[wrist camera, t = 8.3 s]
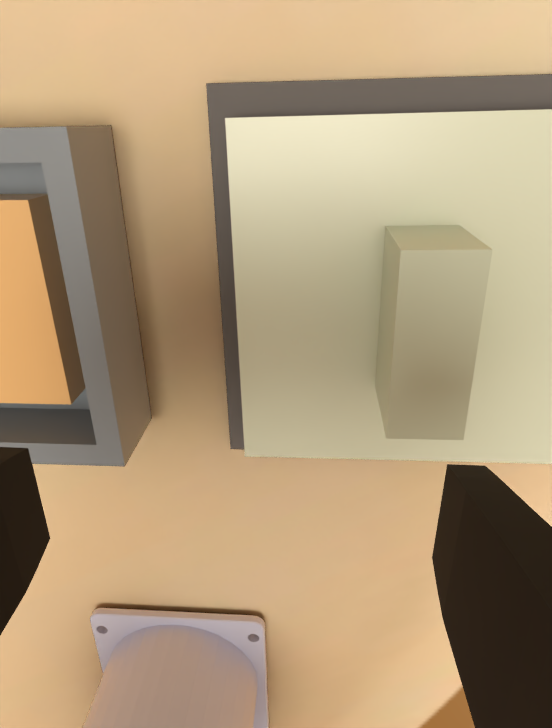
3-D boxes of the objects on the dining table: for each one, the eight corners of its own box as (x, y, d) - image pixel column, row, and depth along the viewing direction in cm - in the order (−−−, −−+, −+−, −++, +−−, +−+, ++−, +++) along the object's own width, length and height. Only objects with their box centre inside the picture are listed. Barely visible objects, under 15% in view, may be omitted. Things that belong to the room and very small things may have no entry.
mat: (560, 451, 19) (565, 457, 18) (232, 443, 20) (230, 448, 19) (657, 72, 14) (666, 70, 13) (208, 84, 15) (206, 83, 14)
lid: (548, 443, 18) (608, 528, 14) (248, 437, 19) (231, 515, 15) (627, 107, 14) (744, 102, 10) (231, 117, 15) (201, 117, 11)
